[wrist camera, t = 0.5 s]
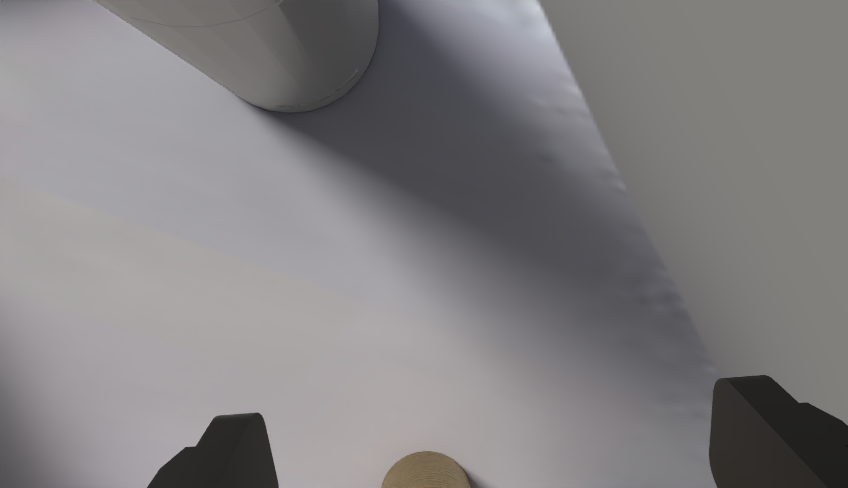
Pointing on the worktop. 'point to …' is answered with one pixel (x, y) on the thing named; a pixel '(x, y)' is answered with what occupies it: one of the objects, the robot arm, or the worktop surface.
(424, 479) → the gold metal cylinder
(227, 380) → the worktop surface
